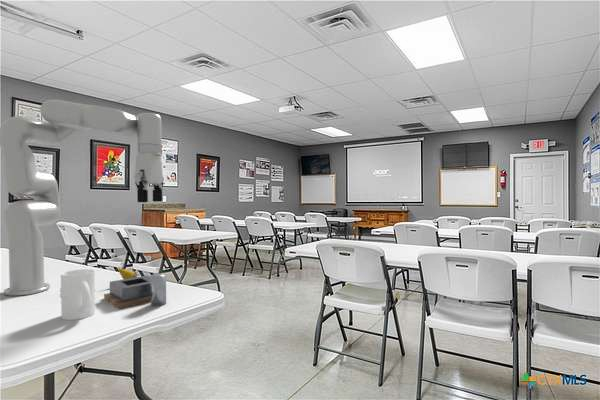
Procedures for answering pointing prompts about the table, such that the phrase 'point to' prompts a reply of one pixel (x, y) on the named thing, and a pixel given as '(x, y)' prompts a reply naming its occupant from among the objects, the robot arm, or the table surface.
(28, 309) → the table surface
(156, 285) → the steel peg
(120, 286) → the socket block
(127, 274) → the drill bit
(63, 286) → the mug
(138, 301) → the dock board
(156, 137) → the robot arm
